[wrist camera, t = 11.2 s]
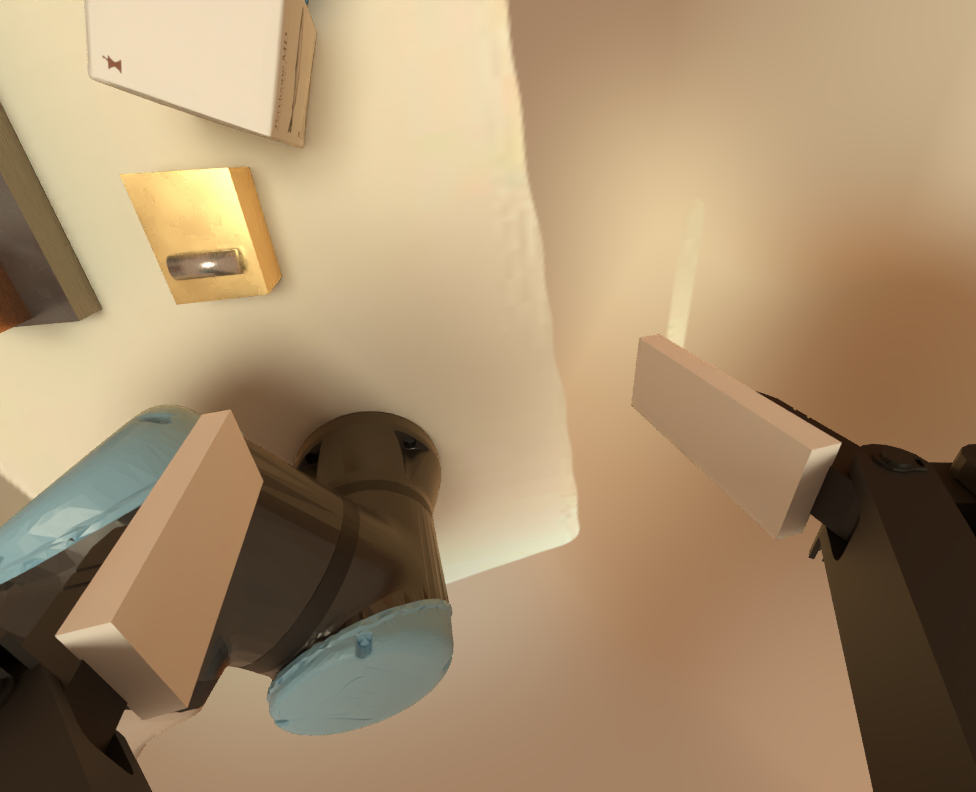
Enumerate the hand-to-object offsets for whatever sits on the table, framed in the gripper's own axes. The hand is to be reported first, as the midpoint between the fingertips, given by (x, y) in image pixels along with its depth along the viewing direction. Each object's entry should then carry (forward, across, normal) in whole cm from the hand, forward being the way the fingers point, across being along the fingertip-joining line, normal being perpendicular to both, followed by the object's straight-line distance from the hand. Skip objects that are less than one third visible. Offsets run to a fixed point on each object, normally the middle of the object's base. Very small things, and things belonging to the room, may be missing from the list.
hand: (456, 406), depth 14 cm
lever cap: (+27, +13, -4) cm, 30 cm away
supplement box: (+27, +8, -13) cm, 31 cm away
